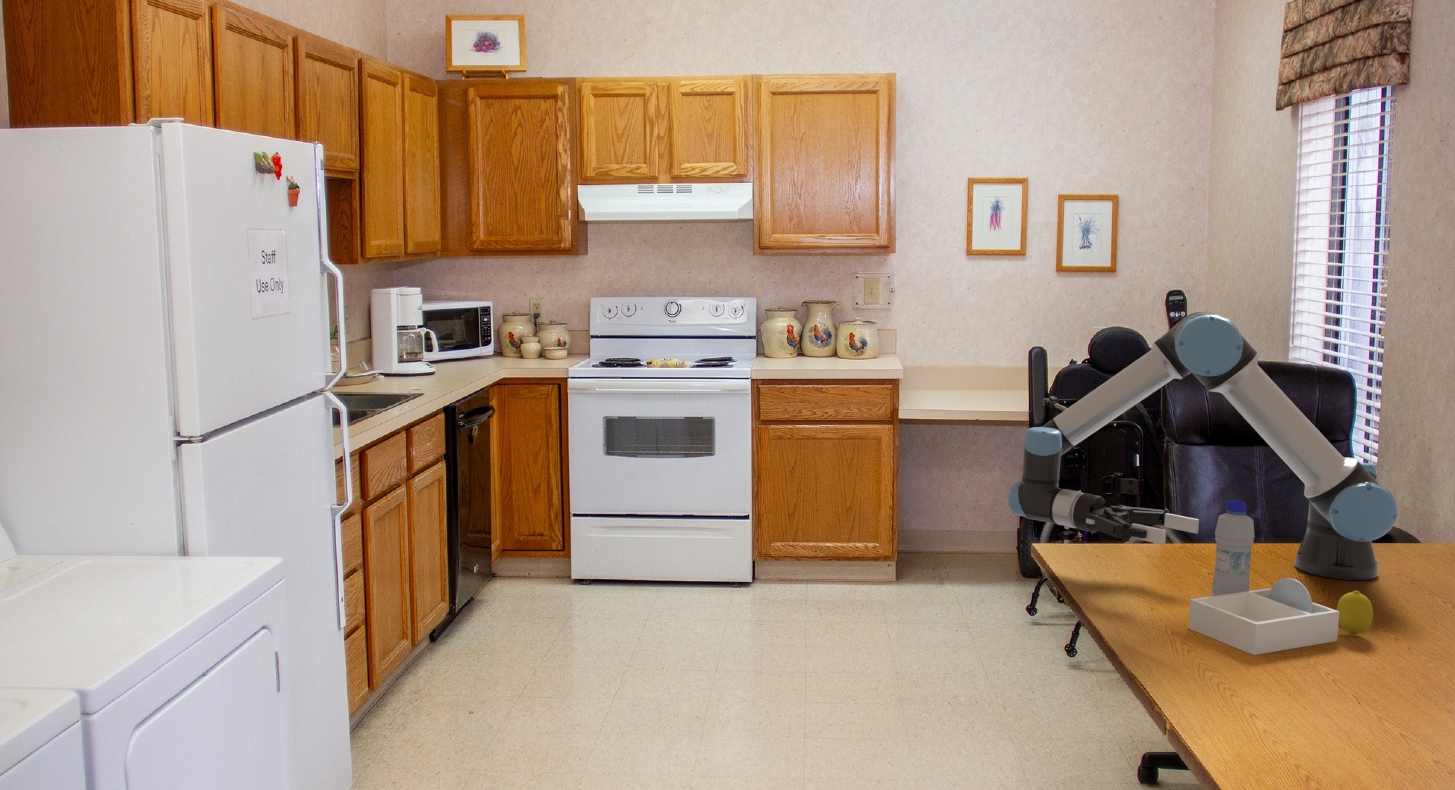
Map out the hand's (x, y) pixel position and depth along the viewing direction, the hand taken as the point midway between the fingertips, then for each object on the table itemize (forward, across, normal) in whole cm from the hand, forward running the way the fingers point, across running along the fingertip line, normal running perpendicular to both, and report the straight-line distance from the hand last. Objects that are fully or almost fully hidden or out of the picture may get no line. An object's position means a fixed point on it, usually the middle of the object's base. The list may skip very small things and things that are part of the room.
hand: (1181, 531), depth 214 cm
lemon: (+31, 0, -12) cm, 33 cm away
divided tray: (+21, +12, -12) cm, 27 cm away
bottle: (+10, 0, -12) cm, 16 cm away
